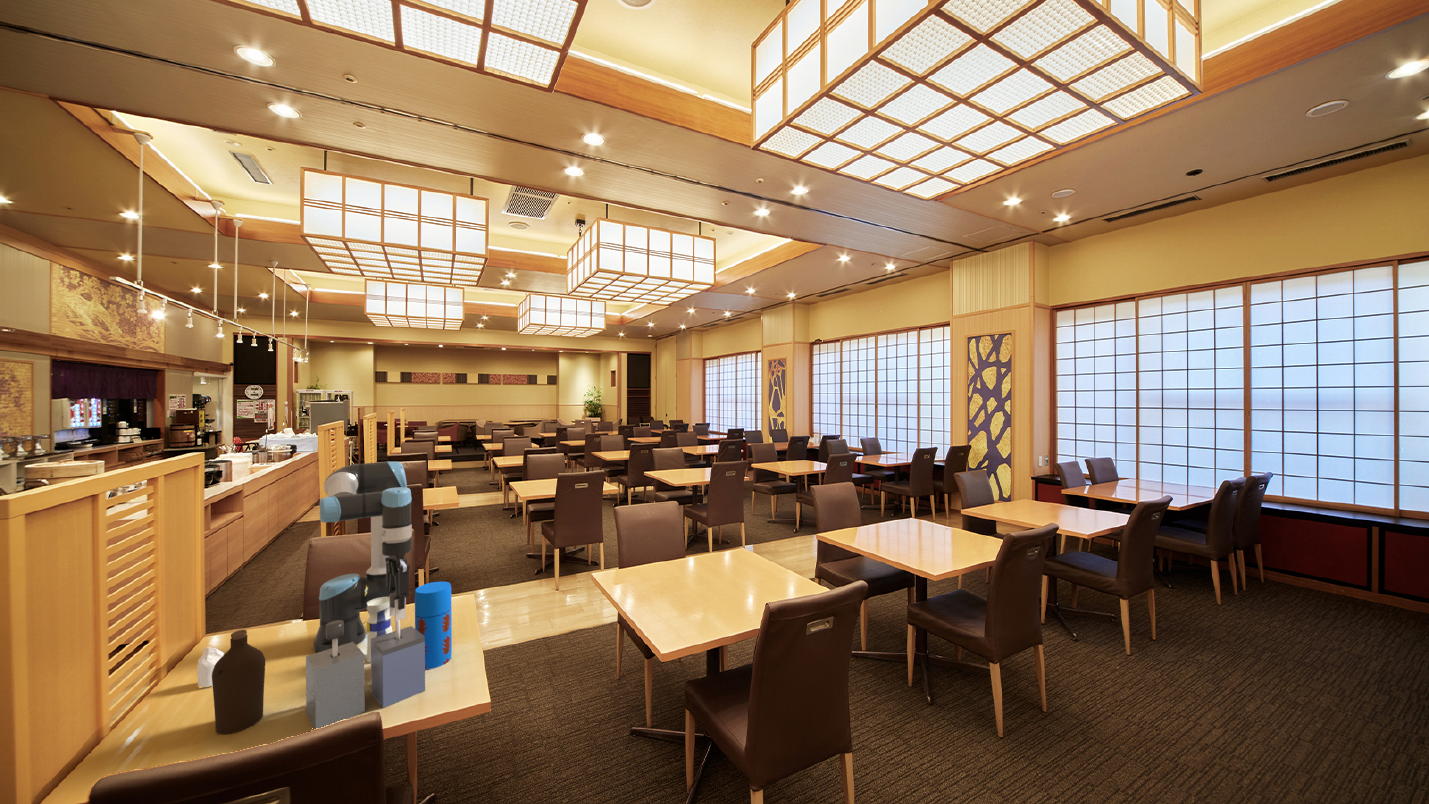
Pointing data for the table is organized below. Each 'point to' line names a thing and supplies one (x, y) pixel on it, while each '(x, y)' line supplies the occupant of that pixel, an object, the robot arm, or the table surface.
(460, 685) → the table surface
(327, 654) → the block
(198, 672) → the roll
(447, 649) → the thermos
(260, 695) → the olive oil
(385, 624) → the water bottle
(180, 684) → the table surface
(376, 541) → the robot arm
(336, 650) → the steel plunger
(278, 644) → the table surface
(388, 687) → the indigo press
